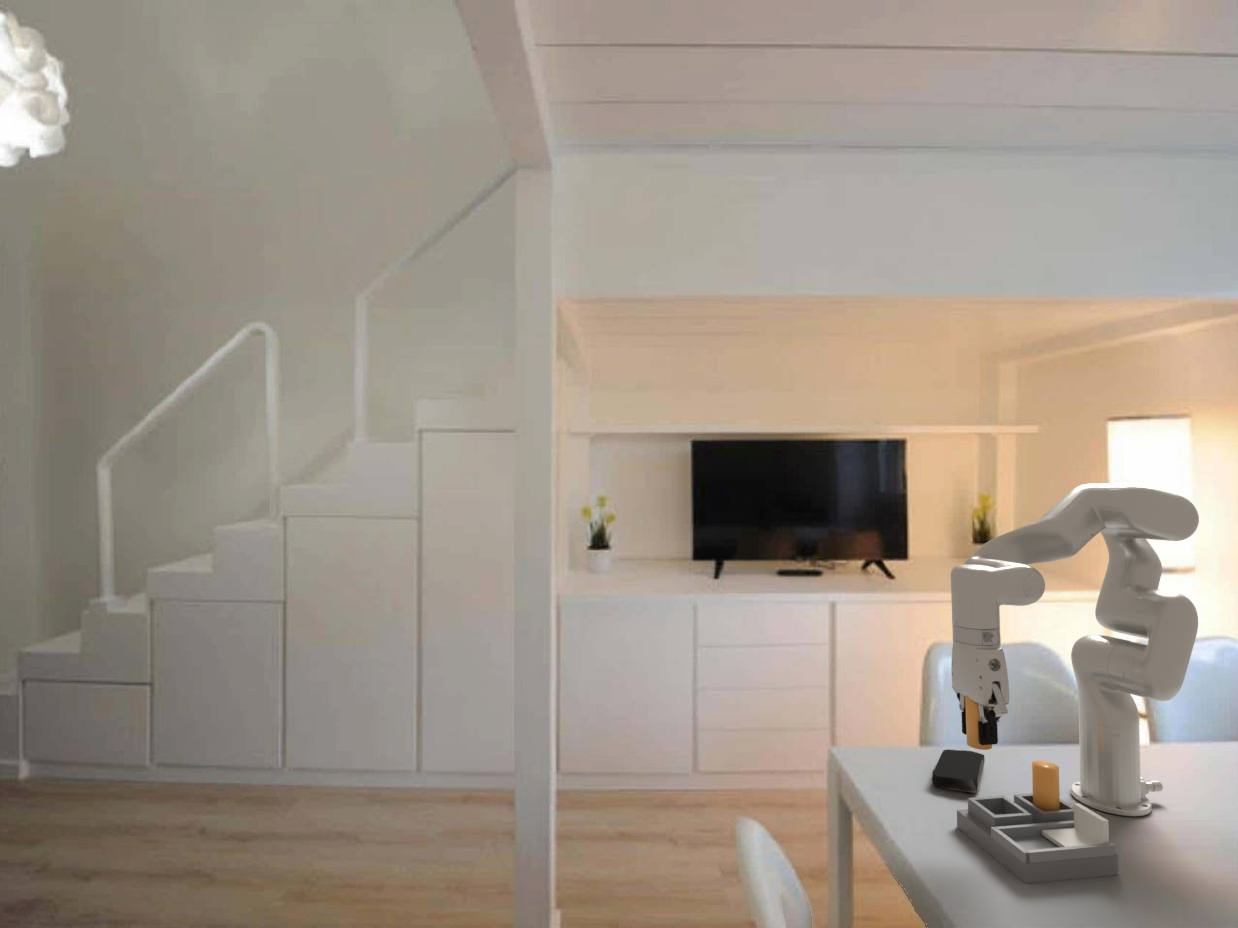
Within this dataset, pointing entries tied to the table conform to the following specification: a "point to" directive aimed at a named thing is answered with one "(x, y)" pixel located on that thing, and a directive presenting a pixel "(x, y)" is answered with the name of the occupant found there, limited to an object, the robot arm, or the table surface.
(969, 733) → the peg
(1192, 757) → the table surface
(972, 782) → the black sponge
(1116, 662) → the robot arm
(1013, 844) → the housing
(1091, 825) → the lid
